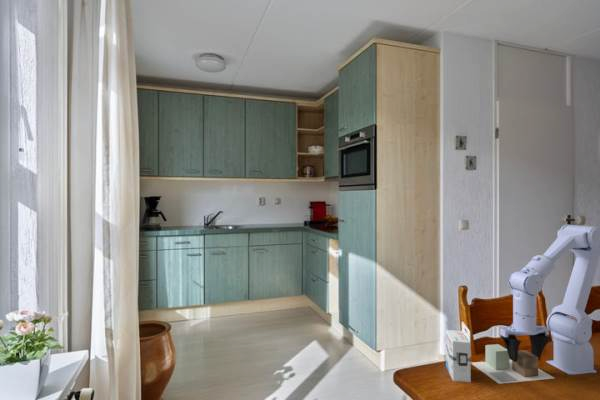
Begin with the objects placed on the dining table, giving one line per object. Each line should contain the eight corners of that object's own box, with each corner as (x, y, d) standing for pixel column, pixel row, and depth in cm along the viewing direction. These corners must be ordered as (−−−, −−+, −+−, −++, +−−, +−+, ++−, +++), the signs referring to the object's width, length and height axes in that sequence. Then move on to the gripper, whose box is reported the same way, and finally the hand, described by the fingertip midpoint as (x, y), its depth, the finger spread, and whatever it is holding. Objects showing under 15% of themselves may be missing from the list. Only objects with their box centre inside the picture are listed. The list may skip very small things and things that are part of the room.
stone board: (520, 359, 106) (520, 358, 106) (555, 379, 94) (555, 378, 94) (470, 364, 103) (470, 362, 103) (498, 385, 91) (498, 383, 91)
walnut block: (525, 368, 100) (525, 350, 100) (538, 375, 95) (538, 357, 95) (512, 369, 99) (512, 351, 99) (524, 377, 95) (524, 358, 95)
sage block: (498, 361, 104) (498, 344, 104) (509, 368, 99) (509, 350, 99) (485, 362, 103) (485, 345, 103) (496, 369, 99) (496, 351, 99)
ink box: (445, 367, 101) (445, 319, 101) (462, 368, 100) (462, 320, 100) (452, 382, 93) (452, 330, 93) (471, 384, 92) (471, 331, 92)
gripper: (534, 307, 102) (534, 351, 102) (492, 310, 100) (492, 354, 100) (555, 315, 95) (555, 362, 95) (510, 318, 93) (510, 366, 93)
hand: (524, 359), depth 97 cm, fingers open, 7 cm apart
